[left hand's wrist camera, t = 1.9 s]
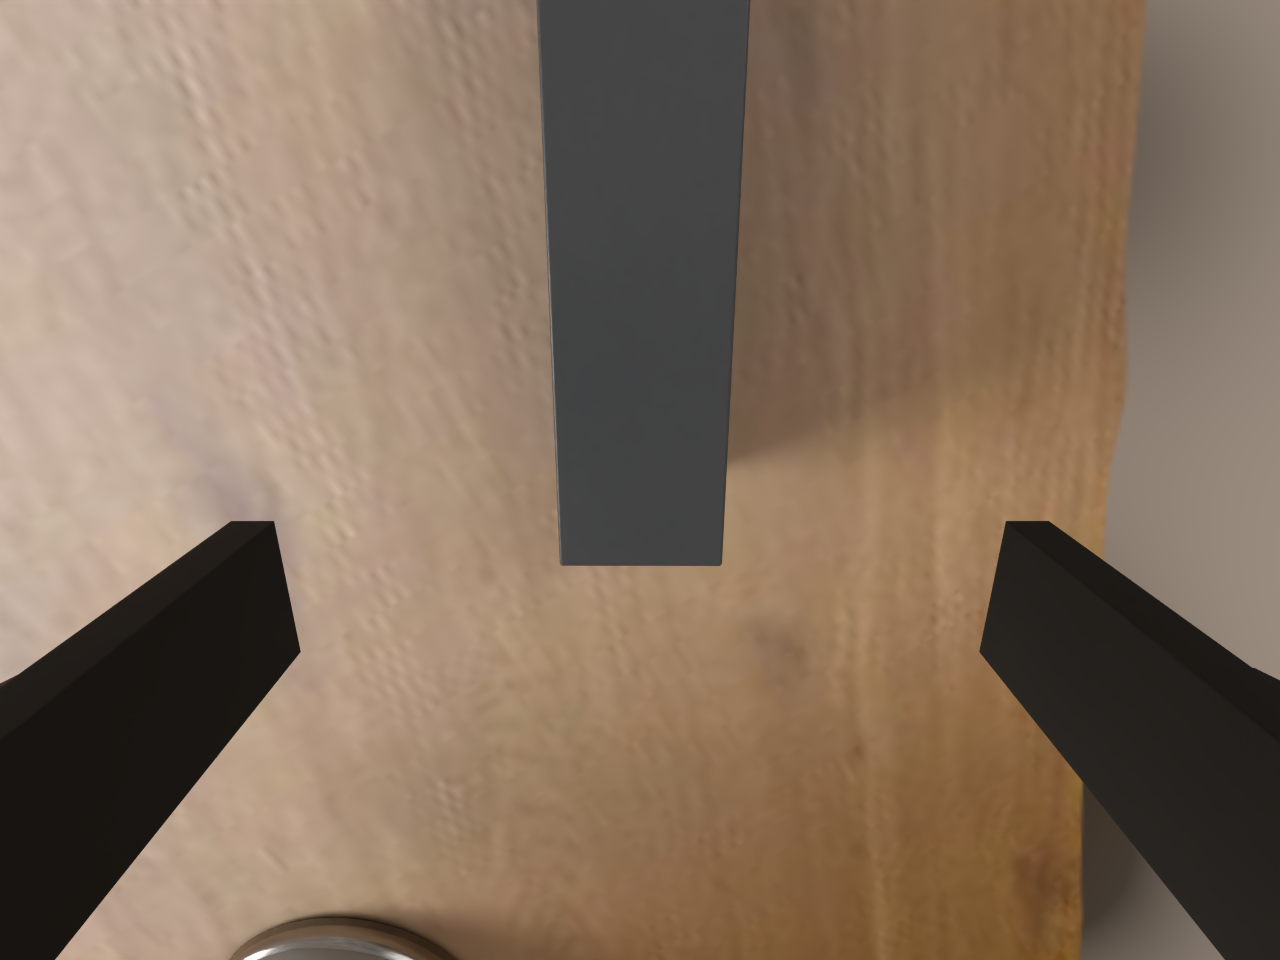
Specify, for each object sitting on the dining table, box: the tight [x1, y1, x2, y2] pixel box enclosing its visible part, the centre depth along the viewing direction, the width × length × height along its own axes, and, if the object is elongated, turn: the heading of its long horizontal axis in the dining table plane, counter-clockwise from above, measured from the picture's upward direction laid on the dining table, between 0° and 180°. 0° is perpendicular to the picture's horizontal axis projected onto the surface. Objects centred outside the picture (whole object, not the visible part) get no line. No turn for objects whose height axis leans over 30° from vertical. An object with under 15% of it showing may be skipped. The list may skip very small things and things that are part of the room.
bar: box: [537, 0, 750, 566], centre depth 21 cm, size 21×5×8 cm, turn 0°
